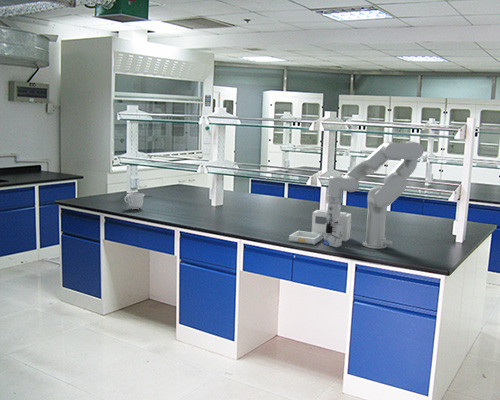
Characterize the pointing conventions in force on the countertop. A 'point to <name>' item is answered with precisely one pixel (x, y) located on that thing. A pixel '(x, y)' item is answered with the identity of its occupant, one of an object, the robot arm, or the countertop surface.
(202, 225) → the countertop surface
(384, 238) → the robot arm
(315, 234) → the tray
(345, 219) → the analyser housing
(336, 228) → the ink box
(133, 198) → the teacup
